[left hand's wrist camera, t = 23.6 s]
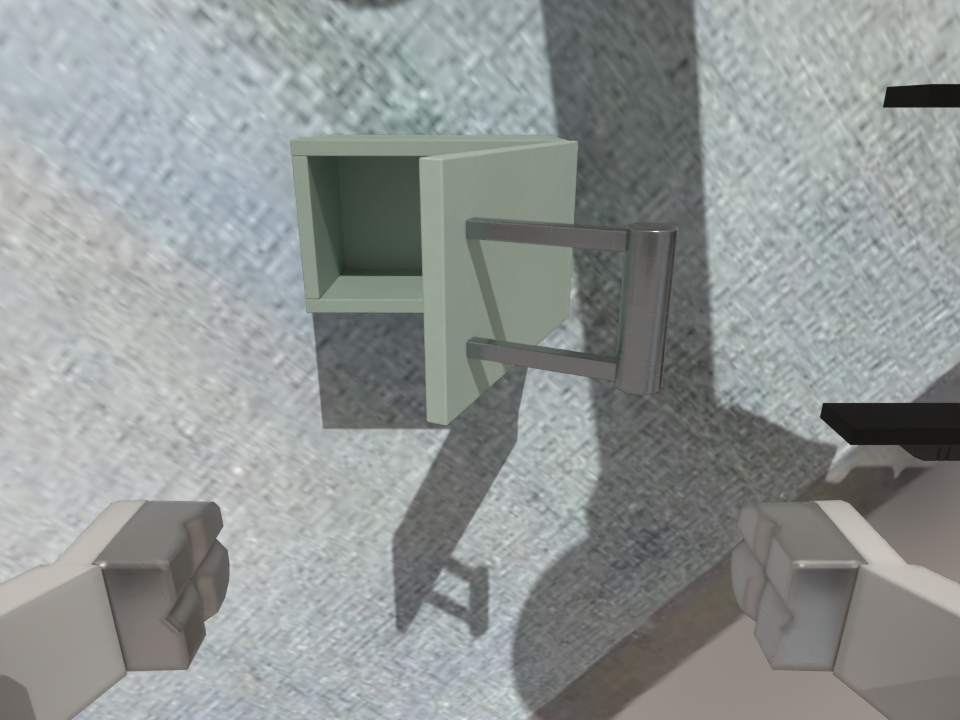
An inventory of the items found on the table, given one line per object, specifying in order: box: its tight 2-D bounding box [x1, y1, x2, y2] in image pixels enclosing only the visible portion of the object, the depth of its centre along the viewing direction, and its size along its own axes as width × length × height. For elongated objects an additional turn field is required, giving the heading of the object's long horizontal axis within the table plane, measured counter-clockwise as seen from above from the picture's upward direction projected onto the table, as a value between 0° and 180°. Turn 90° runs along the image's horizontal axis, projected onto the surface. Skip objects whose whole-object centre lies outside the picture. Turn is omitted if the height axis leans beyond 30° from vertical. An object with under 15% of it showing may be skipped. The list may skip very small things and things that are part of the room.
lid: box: [419, 141, 679, 426], centre depth 28 cm, size 16×10×8 cm
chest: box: [290, 135, 568, 313], centre depth 41 cm, size 15×10×9 cm, turn 90°
